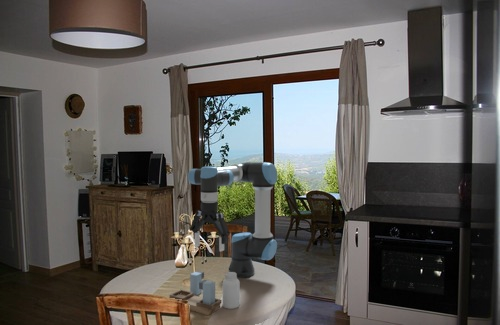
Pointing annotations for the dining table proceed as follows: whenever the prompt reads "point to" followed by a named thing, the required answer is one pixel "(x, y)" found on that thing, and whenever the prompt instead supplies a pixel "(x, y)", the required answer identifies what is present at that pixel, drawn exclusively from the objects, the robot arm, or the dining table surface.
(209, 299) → the finger left seated
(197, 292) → the finger right
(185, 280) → the dining table surface
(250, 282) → the dining table surface
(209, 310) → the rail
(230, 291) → the pill bottle
